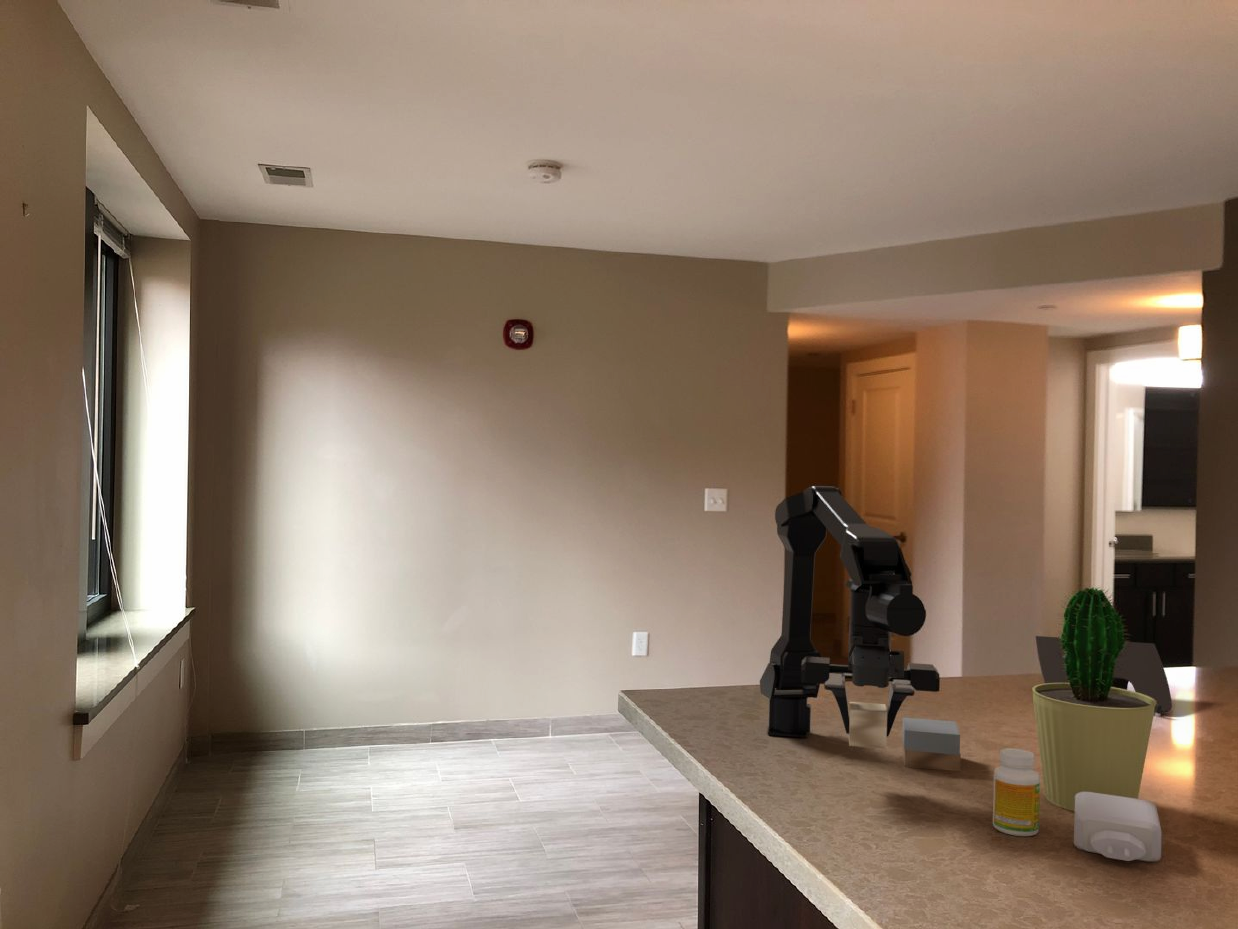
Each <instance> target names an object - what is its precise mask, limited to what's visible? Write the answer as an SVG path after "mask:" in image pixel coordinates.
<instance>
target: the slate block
mask: <svg viewBox="0 0 1238 929" xmlns="http://www.w3.org/2000/svg"><path fill="white" fill-rule="evenodd" d="M957 724H958V723H957V722H956V721H952V720H941V719H940V720H939V719H926V718H912V717H903V716H902V736H901V738H902V737H903V745H904V750H910V751H921V752H932V753H943V754H955V755H960V754H961V749H960V748H961V733H960V730H959V727H958V725H957Z"/></svg>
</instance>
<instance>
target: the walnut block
mask: <svg viewBox="0 0 1238 929" xmlns="http://www.w3.org/2000/svg"><path fill="white" fill-rule="evenodd" d="M901 738H902V739H901V754H902V759H903V764H904V767H907V768H917V769H918V768H919V769H928V770H929V769H931V770H941V771H942V770H943V771H951V772H961V763H962V762H961V760H962V759H961V757H962V756H961V753H960V755H955V754H943V753H932V752H921V751H910V750H904V745H903V737H902V736H901Z"/></svg>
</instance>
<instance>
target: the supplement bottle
mask: <svg viewBox="0 0 1238 929" xmlns="http://www.w3.org/2000/svg"><path fill="white" fill-rule="evenodd" d="M999 751H1000V755H999V761H1000V763H1001V765H999V766H997V767H996V768H995V769H994V772H993V791H992V792H993V795H992V796H993V799H992V802H993V803H992V826H993V827H994V828H995V829H996V830H997V831H998V832H1001V833H1003V834H1007V835H1008V836H1016V837H1032V836H1035V835H1037V834H1038V833H1039V824H1040V788H1041V787H1040V786H1041V783H1040V781H1041V780H1040V775H1039V773H1038V772H1037V771H1036V770H1034V769H1033V767H1035V754H1034V753H1033V752H1032V751H1029V750H1025V749H1021V748H1011V747H1010V748H1009V747H1008V748H1007V747H1006V748H1003V749H1000V750H999Z"/></svg>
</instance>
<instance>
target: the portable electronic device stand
mask: <svg viewBox="0 0 1238 929" xmlns="http://www.w3.org/2000/svg"><path fill="white" fill-rule="evenodd" d="M1034 637H1035V642H1036V643H1035V644H1036V650H1037V657H1038V663H1039V666H1040V671H1041V675H1042V679H1043V681H1044V684H1046V683H1070V682H1069V681H1067V682H1066V681H1065V680H1068V679H1067V674H1066V671H1060V670H1066V668H1065V667H1063V666H1065V663H1064V662H1061V661H1064V660H1065V656H1064V655H1063V654H1065V655H1066V653H1065V652H1064V650H1063V648H1062V644H1061V643H1060V642H1061V637H1060V636H1059V637H1058V636H1057V637H1058V638H1055V637H1056V636H1041V635H1035V636H1034ZM1059 641H1060V642H1059ZM1057 642H1058V644H1057ZM1059 643H1060V644H1059ZM1125 643H1126V644H1125ZM1124 645H1125V646H1124V647H1125V648H1124V649H1125V650H1124V649H1122V650H1121V651H1122V652H1121V651H1120V653H1119V656H1120V655H1121V656H1120V657H1121V658H1120V657H1119V656H1118V657H1117V658H1116V660H1117V659H1118V660H1117V661H1116V660H1115V666H1117V667H1120V668H1118V669H1117V667H1115V669H1114V673H1115V674H1116V675H1117V676H1114V675H1113V681H1112V683H1113V684H1114V685H1113V684H1111V687H1112V686H1113V687H1115V688H1116V687H1117V688H1120V689H1125V690H1128V685H1129V683H1130V684H1131V685H1132V688H1133V691H1134V692H1137V693H1141V694H1144V695H1147V696H1149V697H1151V698H1153V699H1154V700H1156V703H1157V704H1156V705H1155V708H1154V716H1155V717H1157V716H1158V717H1159V716H1161V713H1167V712H1169V711H1171V710H1172V707H1173V705H1172V703H1173V702H1172V701H1173V700H1172V697H1171V696H1172V695H1171V690H1170V689H1171V688H1170V686H1169V682H1168V677H1167V674H1166V671H1165V668H1164V665H1163V662H1162V660H1161V659H1162V658H1161V656H1160V654H1159V652H1158V649H1157V647H1156V644H1155V643H1153V642H1152V643H1151V642H1149V643H1148V642H1134V641H1128V642H1126V641H1125V642H1124ZM1129 646H1130V647H1129ZM1061 650H1062V651H1061ZM1126 650H1127V651H1126ZM1124 651H1125V652H1124ZM1061 652H1062V653H1061ZM1059 655H1060V656H1059ZM1061 655H1062V656H1064V657H1062V656H1061ZM1123 659H1124V660H1123ZM1119 660H1121V661H1119ZM1118 662H1120V663H1118ZM1116 664H1118V665H1116ZM1121 664H1123V665H1121ZM1058 667H1059V668H1058ZM1062 668H1063V669H1062ZM1116 669H1117V670H1116ZM1115 670H1116V671H1115ZM1118 671H1120V672H1118ZM1063 673H1064V674H1065V675H1064V674H1063ZM1061 674H1062V675H1061ZM1118 676H1119V678H1118ZM1064 678H1065V679H1064ZM1116 680H1117V681H1116Z"/></svg>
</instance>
